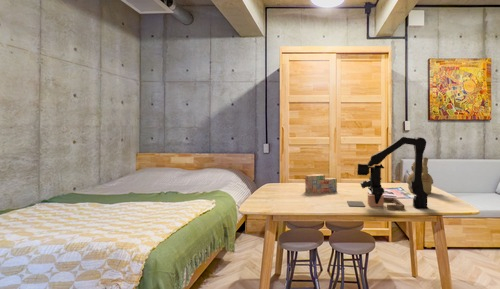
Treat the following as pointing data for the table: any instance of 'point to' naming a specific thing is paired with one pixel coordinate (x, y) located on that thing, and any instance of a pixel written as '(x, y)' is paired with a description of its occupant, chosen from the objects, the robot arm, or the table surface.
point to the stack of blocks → (320, 184)
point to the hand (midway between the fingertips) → (375, 202)
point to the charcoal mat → (355, 204)
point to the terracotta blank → (372, 200)
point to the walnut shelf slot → (394, 207)
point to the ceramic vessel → (426, 177)
